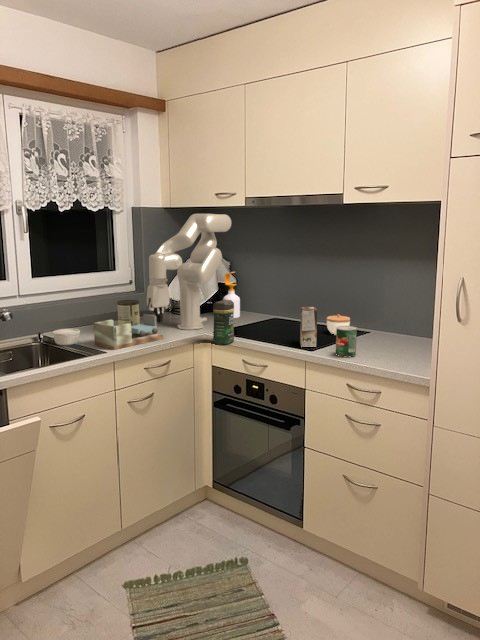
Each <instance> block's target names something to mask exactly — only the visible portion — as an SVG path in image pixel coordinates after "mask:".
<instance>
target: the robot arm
mask: <svg viewBox="0 0 480 640" xmlns="http://www.w3.org/2000/svg"><path fill="white" fill-rule="evenodd" d="M231 227H232V219H231V217H230V216H229V215H228V214H223V213H222V214H218V213H217V214H216V213H193V214H191V215H190V216H189V218H188V219H187V220H186V222H185V223H184V224H183V226H182V227H181V228H180V230H179V231H178V232H177V233H176V234H175V235H173V236H172V237H170V238H169V239H168V240H166V241H164V242H163V243H162V244H161V245H160V246H159V247H158V248H157V250H156V252H155V253H154V254H150V256H149V257H148V269H149V271H148V272H149V273H148V274H149V285H148V286H147V290H146V291H147V292H146V306H147V307H148V310H149V311H151V312H153V314H155V315H154V316H156V322H157V323H164V322H163V321H164V317H163V316H164V315H163V314H164V312H165V310H167V309H169V308H170V307H169V306H170V291H169V285H168V284H167V282H168V281H169V279H168V278H167V270H169V271H176V270H177V271H176V272H177V275H176V276H177V279H178V284H179V285H178V286H179V304H180V305H179V309H180V310H179V311H180V314H179V315H180V323H179V324H177V328H178V329H179V330H185V331H186V330H187V331H190V330H199V329H202V328H204V323H203V322H207V321H208V317H206V316H205V317H204V316H203V317H201V308H200V305H201V302H200V301H201V299H200V298H201V296H200V295H201V294H200V293H201V292H200V289H199V286H198V284H200V285H203V284H205V285H206V284H208V283H209V282H210V281H211V280H212V278H213V276H214V275H215V274H216V272H217V271H218V268H219V267H220V265H221V264H222V259H223V254H222V251H221V249H219V248H217V244H218V243H217V238H216V235H215V233H225V232H228V231H229V230H230V229H231ZM200 234H201V237H200V239H199V241H198V242H197V244H196V246H195V247H194V249H193V250H192V251H191V254H190V257H189V258H190V259H189V260H190V261H191V262H183V259H182V257H181V256H180V255H179V254H178V253H176V252H179V251H181V250H185V249H187V248H190V247H192V246H193V244H194V243H195V241H196V240H197V238H198V237H199V236H200Z"/></svg>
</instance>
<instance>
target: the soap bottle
mask: <svg viewBox="0 0 480 640" xmlns="http://www.w3.org/2000/svg"><path fill="white" fill-rule="evenodd" d="M235 273H236V271H231V272H228V273H225V275H224V285H225V286H228V287H229V288H228V291H227V292H228V293H227V294H226V295H225V296H223V299H222V300H232V301H233V302H234V314H233V319H238V318H240V317H241V298H240V296H238V295H237V294H236V293H235V289H234V287H235V286H237V283H231V277H230V276H231V274H235Z"/></svg>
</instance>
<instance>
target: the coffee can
mask: <svg viewBox="0 0 480 640" xmlns="http://www.w3.org/2000/svg"><path fill="white" fill-rule="evenodd" d="M116 305H117V322H118V323H117V324H118V325H123V324H131V326H135V325H140V324H141V321H140V320H141V319H140V300H137V299H122V300H118V301H117V302H116ZM118 325H117V326H118Z"/></svg>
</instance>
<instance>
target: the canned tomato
mask: <svg viewBox="0 0 480 640" xmlns="http://www.w3.org/2000/svg"><path fill="white" fill-rule="evenodd" d="M357 329H358V327H356V326H353V325H350V326H338V327H337V331H336V335H335V336H336V337H335V354H337V355H339V356H354V357H356V356H357V354H356V353H357V333H358V330H357ZM355 355H356V356H355ZM339 356H338V357H339Z"/></svg>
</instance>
